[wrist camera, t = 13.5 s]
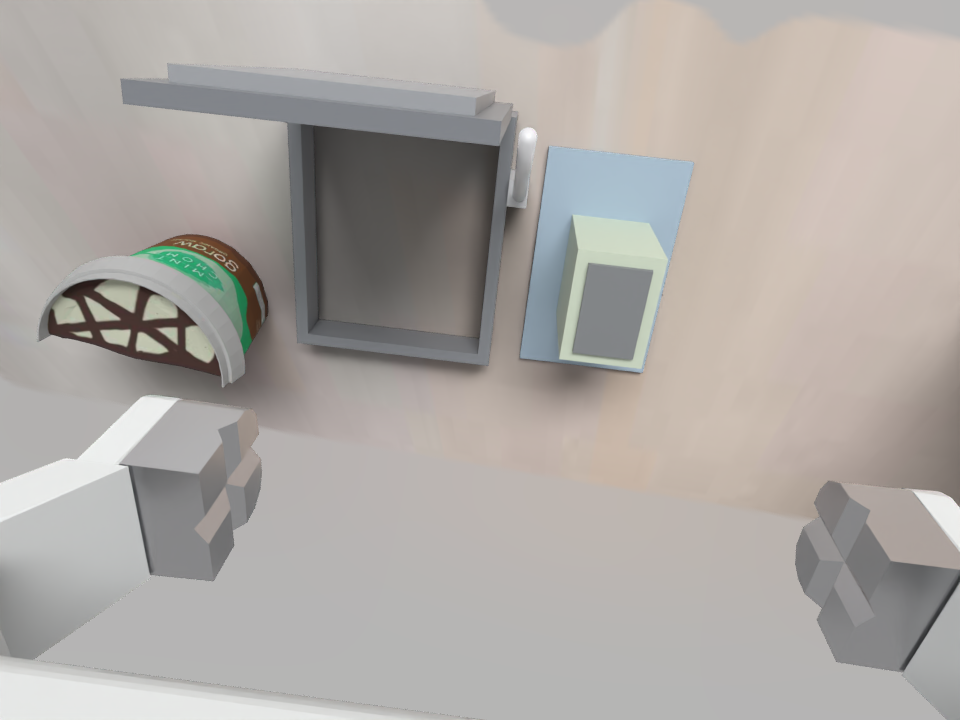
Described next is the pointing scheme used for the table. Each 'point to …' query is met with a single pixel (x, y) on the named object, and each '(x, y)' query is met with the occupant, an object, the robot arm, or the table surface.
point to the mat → (605, 194)
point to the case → (385, 339)
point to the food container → (164, 305)
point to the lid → (328, 101)
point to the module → (609, 291)
